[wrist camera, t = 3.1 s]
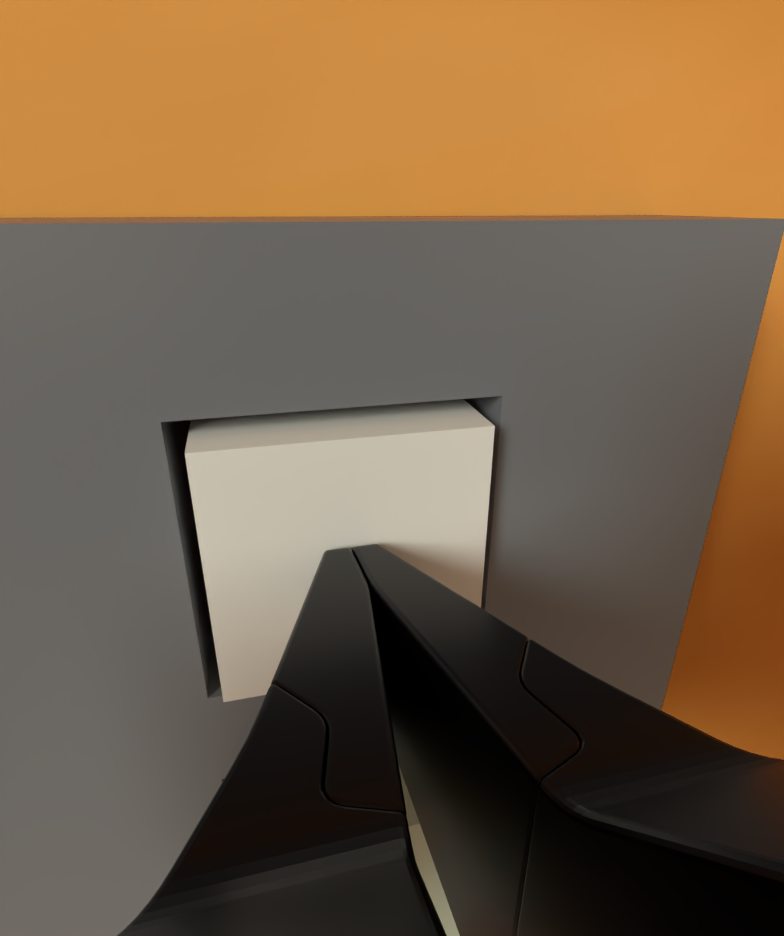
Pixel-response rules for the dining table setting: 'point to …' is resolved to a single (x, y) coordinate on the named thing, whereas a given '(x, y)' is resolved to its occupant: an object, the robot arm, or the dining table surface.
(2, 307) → the panel
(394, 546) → the off white button
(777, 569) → the dining table surface
